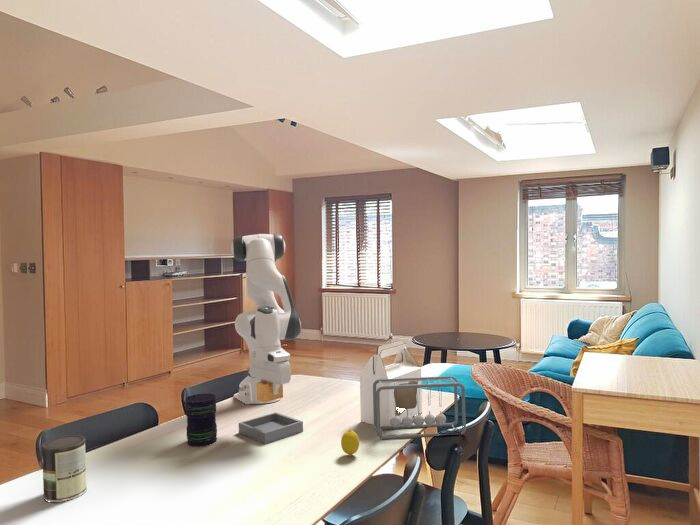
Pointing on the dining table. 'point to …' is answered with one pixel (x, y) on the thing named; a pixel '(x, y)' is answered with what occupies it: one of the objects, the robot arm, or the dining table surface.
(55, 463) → the coffee can
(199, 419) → the black ridged cylinder
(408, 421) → the newton's cradle
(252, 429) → the grey tray
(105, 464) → the dining table surface
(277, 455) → the dining table surface
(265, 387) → the wooden block
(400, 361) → the gable box
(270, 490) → the dining table surface
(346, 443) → the lemon
